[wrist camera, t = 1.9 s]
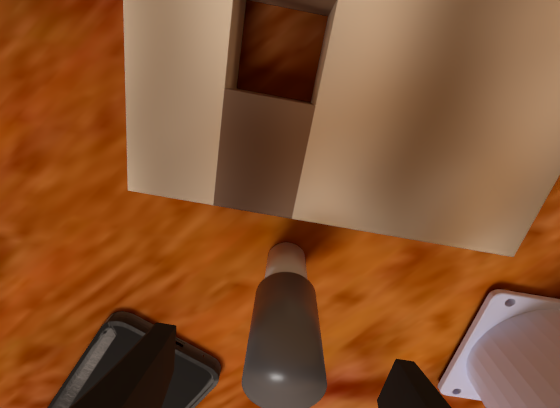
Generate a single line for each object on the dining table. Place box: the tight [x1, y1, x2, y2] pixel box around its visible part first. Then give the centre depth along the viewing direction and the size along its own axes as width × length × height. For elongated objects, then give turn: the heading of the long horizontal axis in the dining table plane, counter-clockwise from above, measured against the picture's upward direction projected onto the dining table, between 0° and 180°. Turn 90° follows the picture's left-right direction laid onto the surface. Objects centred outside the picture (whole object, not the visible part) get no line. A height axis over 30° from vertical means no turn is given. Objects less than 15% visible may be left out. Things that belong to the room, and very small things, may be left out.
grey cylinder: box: [242, 242, 327, 408], centre depth 12 cm, size 3×3×7 cm
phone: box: [48, 311, 221, 408], centre depth 20 cm, size 8×1×15 cm
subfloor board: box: [123, 0, 560, 257], centre depth 11 cm, size 16×12×2 cm
